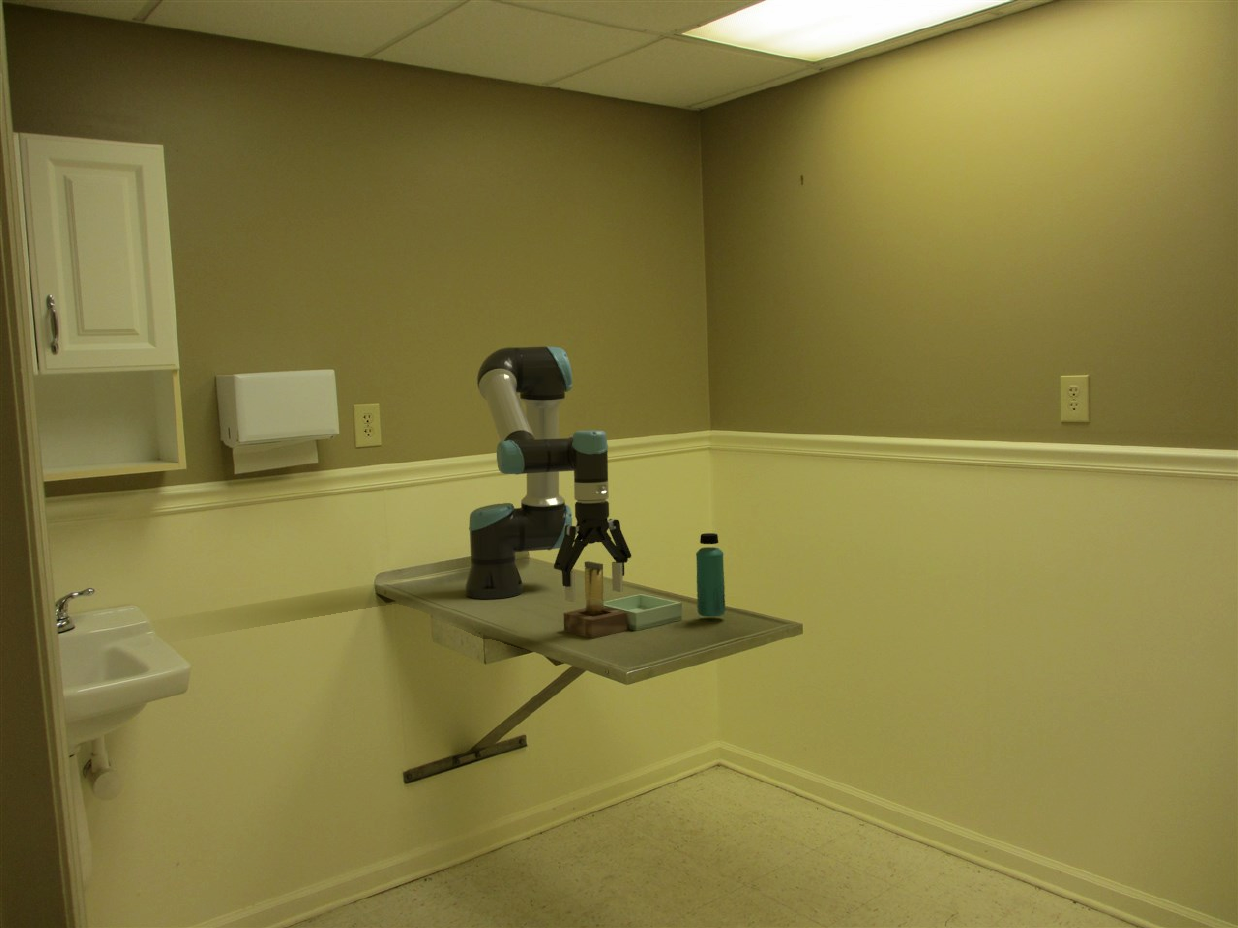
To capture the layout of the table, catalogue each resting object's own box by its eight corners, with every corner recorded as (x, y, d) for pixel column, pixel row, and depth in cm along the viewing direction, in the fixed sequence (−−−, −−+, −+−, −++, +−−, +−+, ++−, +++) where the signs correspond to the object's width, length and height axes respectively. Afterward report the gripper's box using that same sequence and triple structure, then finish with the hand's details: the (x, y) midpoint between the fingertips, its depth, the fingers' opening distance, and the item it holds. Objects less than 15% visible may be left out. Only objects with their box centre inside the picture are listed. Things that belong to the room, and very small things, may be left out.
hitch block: (564, 630, 222) (563, 612, 222) (598, 622, 229) (598, 605, 228) (592, 638, 215) (591, 620, 214) (627, 630, 221) (626, 612, 221)
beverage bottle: (728, 622, 226) (726, 535, 224) (699, 623, 225) (697, 536, 223) (722, 615, 232) (721, 530, 230) (694, 617, 232) (692, 532, 230)
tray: (596, 620, 231) (595, 603, 231) (641, 610, 240) (640, 593, 240) (636, 630, 220) (636, 612, 220) (681, 619, 229) (681, 602, 229)
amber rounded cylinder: (581, 629, 222) (579, 562, 221) (595, 626, 225) (593, 560, 224) (596, 633, 219) (594, 565, 217) (609, 630, 221) (608, 562, 220)
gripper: (556, 507, 208) (560, 607, 210) (645, 496, 225) (647, 589, 226) (535, 505, 214) (539, 602, 216) (623, 494, 230) (625, 584, 232)
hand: (594, 595), depth 221 cm, fingers open, 13 cm apart
